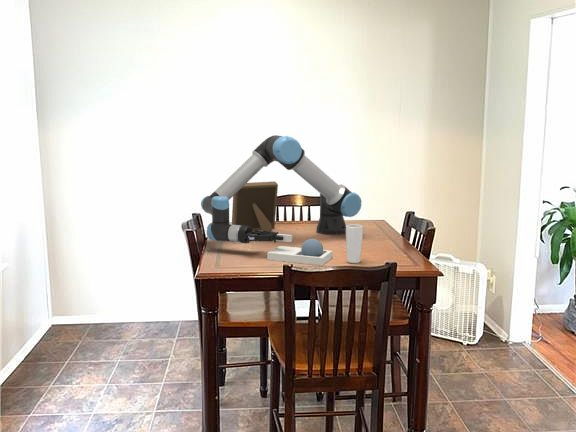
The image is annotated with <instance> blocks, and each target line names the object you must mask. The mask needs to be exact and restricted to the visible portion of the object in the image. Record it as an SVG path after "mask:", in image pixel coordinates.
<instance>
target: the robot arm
mask: <svg viewBox="0 0 576 432" xmlns="http://www.w3.org/2000/svg"><path fill="white" fill-rule="evenodd" d="M273 162H277V163H278V164H280V165H281V166H282V167H284V168H285V169H286V170H287V171H290V170H292V171H294V172H295V173H296V174H297V175H298V176H299V177H300V178H302V179H303V180H304V181H305V182H306V183H308V184H309V185H310V186H311V187H312V188H313V189H315V190H316V191H317V192H318V193H319V219H318V221H317V225H316V232H317V234H322V235H341V234H346V226H347V225H346V222H345V218H344V217H346V218H347V217H348V218H352V217H355V216H356V215H358V213H359V212H360V210H361V208H362V198H361V197H360V195H359V194H357V192H352V191H351V190H350V189H349V188H347V187H346V186H345V185H344V184H343V183H342V184H338V183H337V182H336V181H335V180H334V179H332V178H331V176H329V175H328V174H327V173H325V172H324V171H323V170H322V169H321V168H320V167H319V166H318V165H317V164H315V163H314V162H313V161H312V160H311V159H310V158H309V157H307V156H306V151H305V149H303V147H302V146H301V143H300V142H299V141H298V140H297V139H296V138H294V137H292V136H288V135H277V134H276V135H271V136H269V137H267V138H265V139H264V140H263V141H262V142H261V143H260V144H259V145H258V146H256V147H255V149H254V150H253V151H252V154H251V155H250V157H249V158H247V159H246V161H244V162H243V163H242V164H241V165H240V166H239V167H238V168H237V169H236V170H235V171H233V173H232V174H231V175H230V176H229V177H227V179H226V180H225V181H224V182H223V183H221V185H219V187H217V188H216V189H215V190H214V191H213V192H212V193H211V194H210V195H207V196H204V197H203V198H202V199H201V202H200V206H201V209H202V210H203V211H204V212H205V213H207V214H208V215H211V223H209V224H208V225H207V227H206V237H207V238H208V239H209V240H211V241H217V242H231V243H234V244H237V243H241V244H250V243H251V242H265V243H266V242H270V243H271V242H273V243H274V244H275V243H277V242H286V243H287V242H288V243H291V242H293V234H283V233H279V231H272V232H271V231H265V230H254V231H252V229H251V227H250V226H241V225H232V224H230V200H231V199H233V196H234V195H235V194H236V193H237V192H238V191H239V190H240V189H241V188H242V187H243V186H244V185H245V184H246V183H249V182H250V181H251V179H253V177H254V176H256V175H257V174H258V173H259V172H260V171H261V170H262V169H263V168H264V167H268V166H269V165H270V164H271V163H273Z"/></svg>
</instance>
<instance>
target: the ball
mask: <svg viewBox="0 0 576 432" xmlns="http://www.w3.org/2000/svg"><path fill="white" fill-rule="evenodd" d="M300 248H301V251H302V254H303V256H313V257H320V256H321V255H322V254H323V250H324V245H323V243H322V242H321V241H320V240H318V239H317V238H308V239H306V240H305V241H304V242H303V243H302V245H301V247H300Z"/></svg>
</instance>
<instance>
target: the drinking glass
mask: <svg viewBox="0 0 576 432" xmlns="http://www.w3.org/2000/svg"><path fill="white" fill-rule="evenodd" d="M363 229H364V227H363V225H361V224H355V223H354V224H347V225H346V233H345V245H346V260H347V263H350V264H359V263H360V262H361V256H362V255H361V254H362V246H363V245H362V243H363V233H364V232H363V231H364V230H363Z"/></svg>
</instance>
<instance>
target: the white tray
mask: <svg viewBox="0 0 576 432" xmlns="http://www.w3.org/2000/svg"><path fill="white" fill-rule="evenodd" d="M301 248H302V247H295V246H284V245H279V246H277V247H275V248H273V249H271V250H270V251H268V252H267V253H266V254H267V255H266V256H267V258H266V259H267V261H275V262H283V261H285V262H286V263H296V264H304V265H305V264H306V265H315V266H324V265H325V264H327V263H328V262H329V261H330V260H331V259H333V254H334V252H333V250H328V249H323V254H322V255H321V256H320V257H313V256H303V254H302V251H301Z"/></svg>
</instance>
